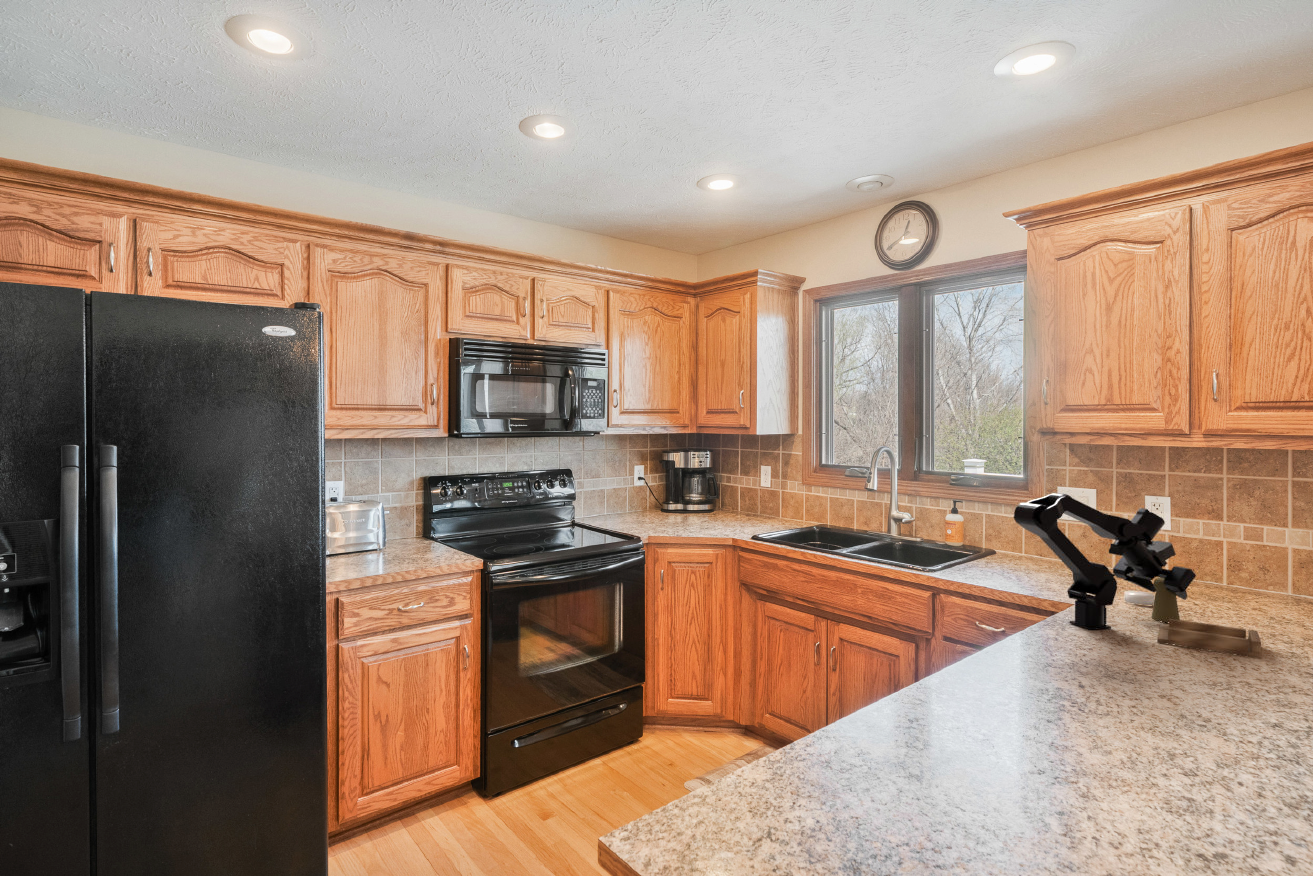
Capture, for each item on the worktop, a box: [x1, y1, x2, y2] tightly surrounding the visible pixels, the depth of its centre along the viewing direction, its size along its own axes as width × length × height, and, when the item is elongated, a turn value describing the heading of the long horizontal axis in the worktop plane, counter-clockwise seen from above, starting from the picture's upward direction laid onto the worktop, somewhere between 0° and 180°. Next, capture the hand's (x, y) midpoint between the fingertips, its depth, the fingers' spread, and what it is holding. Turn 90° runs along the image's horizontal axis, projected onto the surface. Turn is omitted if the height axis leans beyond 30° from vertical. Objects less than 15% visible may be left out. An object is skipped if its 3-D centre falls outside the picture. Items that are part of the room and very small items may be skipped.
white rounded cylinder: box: [1123, 590, 1155, 605], centre depth 193 cm, size 7×7×3 cm
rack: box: [1156, 619, 1262, 660], centre depth 155 cm, size 18×12×4 cm, turn 52°
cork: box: [1150, 577, 1181, 623], centre depth 175 cm, size 6×6×11 cm
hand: (1170, 594), depth 175 cm, fingers open, 8 cm apart
